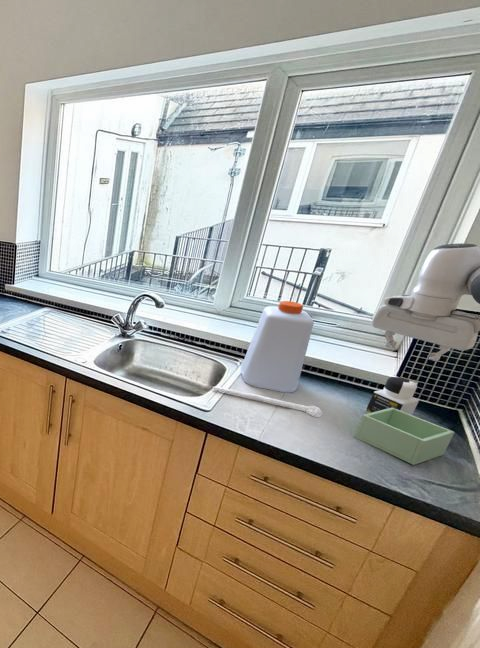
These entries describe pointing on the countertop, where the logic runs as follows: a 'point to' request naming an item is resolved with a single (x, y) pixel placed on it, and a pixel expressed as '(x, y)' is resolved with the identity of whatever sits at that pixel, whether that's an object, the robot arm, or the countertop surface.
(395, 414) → the bin
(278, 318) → the plastic bottle
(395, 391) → the medicine bottle
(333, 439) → the countertop surface
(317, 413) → the white knobbed stick
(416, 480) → the countertop surface
